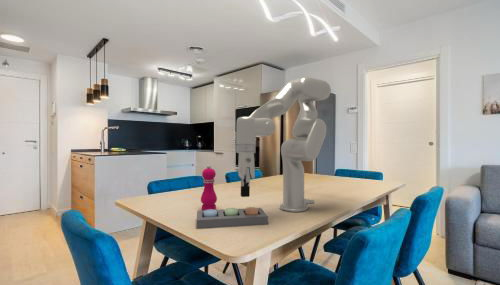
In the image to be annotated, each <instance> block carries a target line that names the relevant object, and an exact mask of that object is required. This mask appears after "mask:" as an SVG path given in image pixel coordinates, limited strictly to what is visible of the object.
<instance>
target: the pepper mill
mask: <svg viewBox="0 0 500 285" xmlns="http://www.w3.org/2000/svg"><path fill="white" fill-rule="evenodd" d="M201 175H202V178H203V180H202V181H203V182H202V183H204V186H203V191H202V194H201V196H200V202H201V203H202V205H201V211H204V210H208V209H214V210H217V206H216V203H217V200H218V197H217V194H216V192H215V188H214V183H215V177H216V171H215V169H213V168H212V166H211V165H210V164H207V165H206V168H205V169H203V171H202V173H201Z"/></svg>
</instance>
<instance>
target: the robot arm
mask: <svg viewBox="0 0 500 285" xmlns="http://www.w3.org/2000/svg"><path fill="white" fill-rule="evenodd" d="M331 91H332V90H331V86H330V84H329V83H328V82H327V81H325V80H324V79H323V80H322V79H318V78H314V77H309V76H303V77H299V78H294V79H291V80H289V81H286V83H285V84H284V85H283V86H282V87H281V88H280V89H279V90H278V92H277V93H276V94H275V95H274V96H273V98H271V99H270V100H268V101H267V102H265V103H264V104H262V105H261V106H260V107H258V108H256V109H255V110H254V111H253V112H252V113H251V114H250V115H249V116H239V117H238V118H237V119H236V129H235V130H236V134H235V135H236V138H235V139H236V141H235V142H236V143H235V151H236V152H235V153H237V154H238V167H237V168H238V172H237V173H238V176H239V178H240V197H242V198H247V197H248V198H249V197H250V193H251V192H250V191H251V190H250V189H251V187H250V186H251V185H250V184H251V179H252V180H254V179H255V176H256V175H255V173H256V172H255V169H256V168H255V154H256V143H257V141H256V140H257V139H256V138H257V137H263V138H264V137H269V136H271V135H273V134H274V132H276V131H275V130H276V124H275V122H274V120H273V119H274V118H275V119H276V118H278V117H280V116H282V115H284V114H286V113H288V111H289V110H290V109H291V108H292V106H293V105H294V104H295V102H297V100H298V104H299V105H298V106H299V113H298V115H297V117H296V120H295V122H294V125H293V127H292V132H291V134H292V136H293V138H288V139H287V140H285V141H283V142H282V144H281V146H280V154H281V159H282V171H283V172H282V174H283V175H282V203H280V205H279V209H281V210H282V211H285V212H291V213H297V212H298V213H301V212H305V211H307V210H308V205H315V199H308V198H305V167H304V164H303V163H302V162H312V161H315V160H316V159H317V158H318V156H319V154H320V152H321V149H322V146H323V144H324V140H325V139H326V136H327V124H326V123H325V121H324V120H323V119H321V118H318V110H317V108H316V106H315V105H314V102H317V101H324V100H327V99H328V98H329V97H330V95H331Z"/></svg>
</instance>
